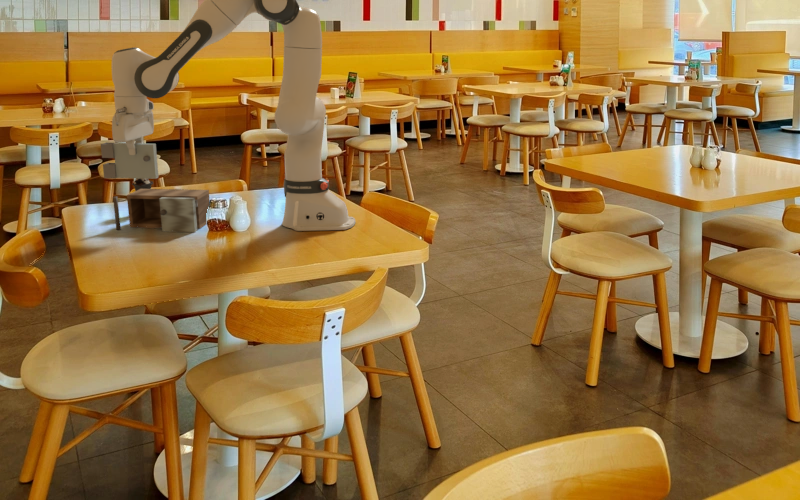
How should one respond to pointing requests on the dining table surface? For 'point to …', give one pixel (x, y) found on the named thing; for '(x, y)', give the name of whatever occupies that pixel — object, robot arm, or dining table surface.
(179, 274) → the dining table surface
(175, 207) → the cabinet
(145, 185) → the sundae
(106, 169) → the door
